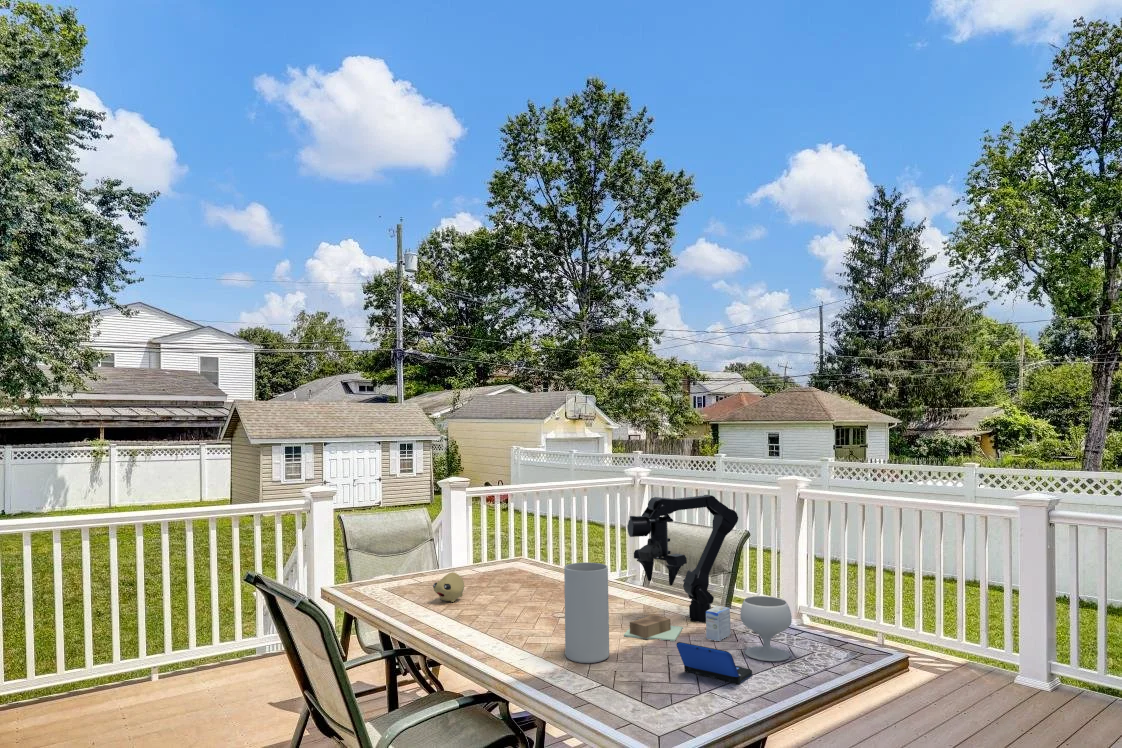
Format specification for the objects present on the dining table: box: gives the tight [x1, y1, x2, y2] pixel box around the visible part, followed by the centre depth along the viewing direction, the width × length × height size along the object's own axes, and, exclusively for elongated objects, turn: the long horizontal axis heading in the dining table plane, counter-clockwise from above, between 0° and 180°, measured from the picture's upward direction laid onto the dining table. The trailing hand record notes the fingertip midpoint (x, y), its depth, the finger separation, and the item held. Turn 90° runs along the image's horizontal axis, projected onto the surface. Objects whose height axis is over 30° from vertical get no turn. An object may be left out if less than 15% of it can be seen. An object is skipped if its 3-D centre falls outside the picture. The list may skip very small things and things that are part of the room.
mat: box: [623, 625, 684, 642], centre depth 211 cm, size 16×14×1 cm
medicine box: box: [705, 605, 731, 642], centre depth 205 cm, size 8×4×9 cm, turn 141°
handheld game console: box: [675, 641, 753, 685], centre depth 174 cm, size 16×13×9 cm
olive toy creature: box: [432, 571, 465, 603], centre depth 253 cm, size 10×12×11 cm
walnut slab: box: [629, 614, 672, 638], centre depth 210 cm, size 6×4×12 cm
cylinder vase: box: [563, 562, 610, 664], centre depth 190 cm, size 12×12×25 cm
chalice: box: [739, 595, 793, 662], centre depth 189 cm, size 14×14×15 cm
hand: (660, 583), depth 222 cm, fingers open, 9 cm apart
